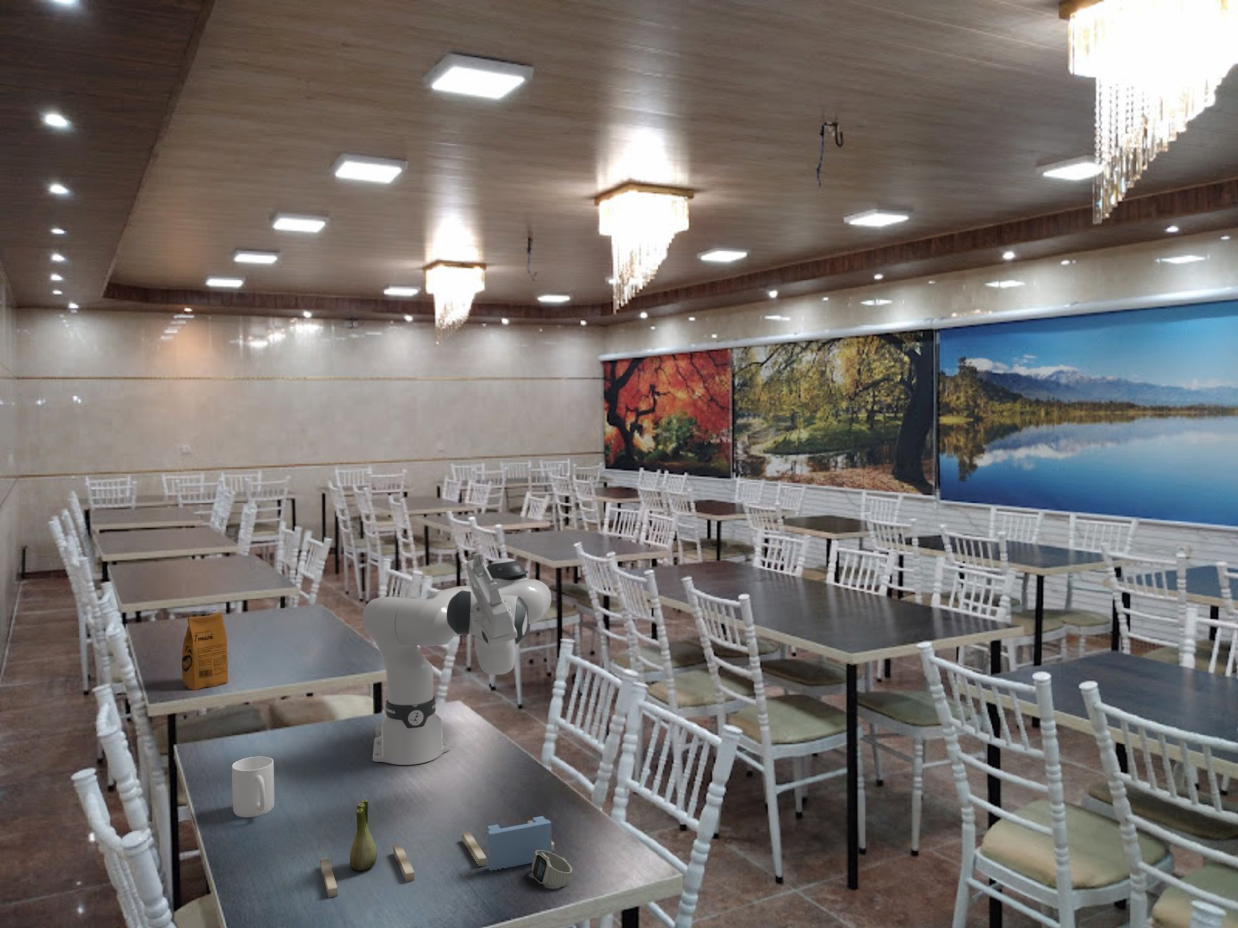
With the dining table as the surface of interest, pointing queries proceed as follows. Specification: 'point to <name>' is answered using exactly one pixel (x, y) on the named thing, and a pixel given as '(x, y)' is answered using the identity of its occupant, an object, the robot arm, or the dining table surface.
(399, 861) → the beige small bars
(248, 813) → the cup
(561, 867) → the wristwatch
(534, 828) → the blue notched panel
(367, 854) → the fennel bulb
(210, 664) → the coffee package
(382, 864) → the dining table surface
